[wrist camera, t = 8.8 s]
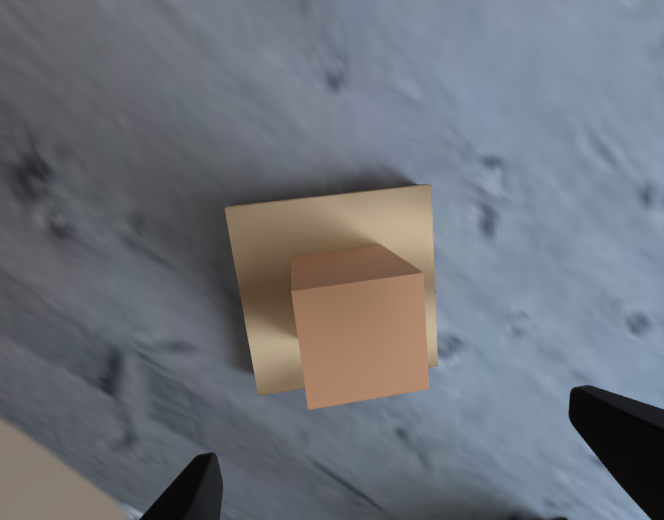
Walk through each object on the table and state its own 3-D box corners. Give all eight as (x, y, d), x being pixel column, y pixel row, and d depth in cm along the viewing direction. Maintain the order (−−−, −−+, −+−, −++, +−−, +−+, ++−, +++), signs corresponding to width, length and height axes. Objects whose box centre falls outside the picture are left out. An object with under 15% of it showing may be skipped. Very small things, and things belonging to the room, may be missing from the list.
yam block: (388, 328, 19) (429, 388, 14) (303, 341, 19) (308, 409, 13) (381, 244, 18) (423, 272, 12) (291, 256, 18) (291, 291, 12)
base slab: (425, 350, 22) (437, 366, 20) (261, 376, 21) (258, 395, 19) (417, 184, 20) (431, 184, 18) (231, 205, 19) (224, 207, 17)
